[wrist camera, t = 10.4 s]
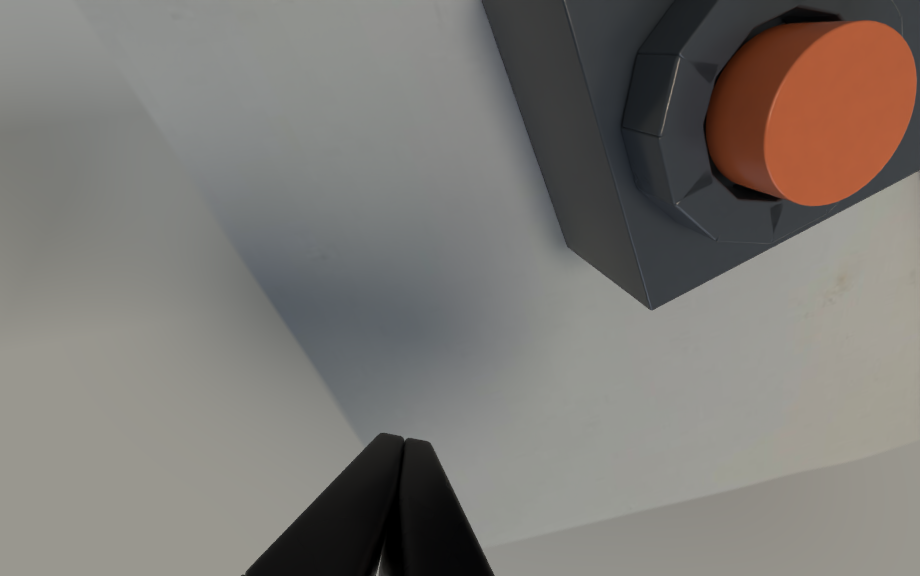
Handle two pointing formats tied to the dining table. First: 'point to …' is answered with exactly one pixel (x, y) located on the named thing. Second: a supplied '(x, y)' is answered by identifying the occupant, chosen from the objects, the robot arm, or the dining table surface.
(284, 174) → the dining table surface
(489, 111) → the dining table surface
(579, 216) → the control block
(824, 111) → the button
